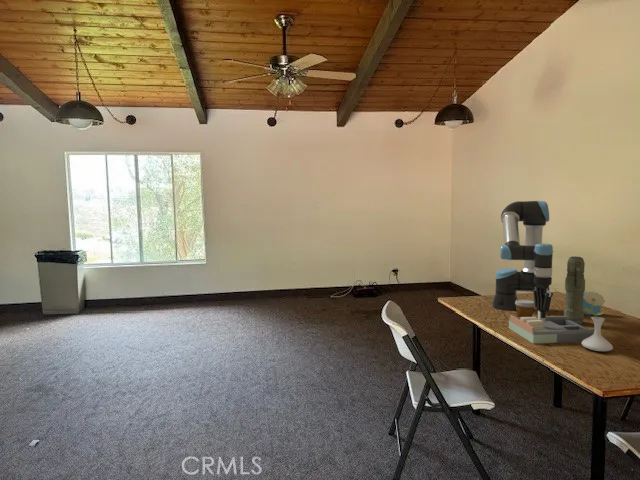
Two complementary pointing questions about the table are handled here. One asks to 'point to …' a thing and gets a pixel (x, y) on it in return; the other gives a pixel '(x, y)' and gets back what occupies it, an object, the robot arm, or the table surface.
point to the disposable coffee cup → (524, 307)
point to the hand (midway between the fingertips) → (541, 323)
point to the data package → (586, 305)
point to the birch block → (533, 322)
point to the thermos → (575, 290)
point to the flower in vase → (596, 325)
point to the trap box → (551, 330)
